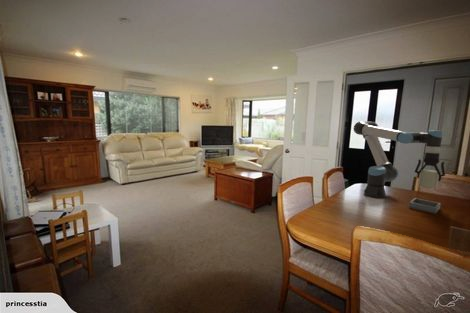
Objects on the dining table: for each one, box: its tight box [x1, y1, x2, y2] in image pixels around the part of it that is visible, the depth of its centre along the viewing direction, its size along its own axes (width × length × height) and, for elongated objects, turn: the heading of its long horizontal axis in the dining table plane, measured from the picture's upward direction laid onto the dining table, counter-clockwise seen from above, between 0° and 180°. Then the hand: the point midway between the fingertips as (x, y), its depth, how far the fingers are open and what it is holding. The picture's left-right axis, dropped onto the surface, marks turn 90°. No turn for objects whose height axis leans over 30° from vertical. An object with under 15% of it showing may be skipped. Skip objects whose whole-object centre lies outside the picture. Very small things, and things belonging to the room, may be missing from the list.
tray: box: [408, 197, 441, 215], centre depth 152 cm, size 14×14×4 cm
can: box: [418, 169, 439, 189], centre depth 157 cm, size 9×9×12 cm
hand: (427, 183), depth 158 cm, fingers closed on can, 9 cm apart
